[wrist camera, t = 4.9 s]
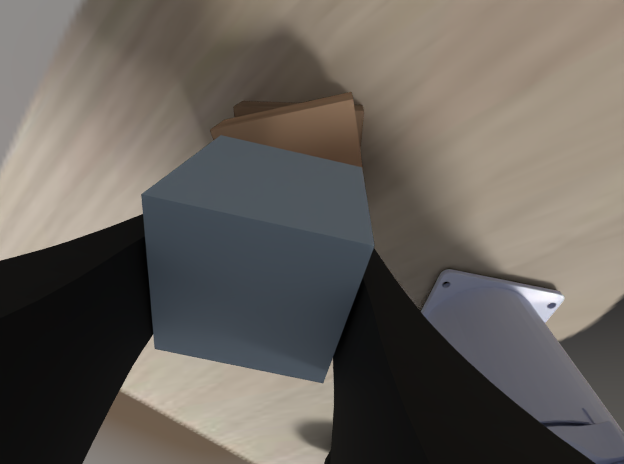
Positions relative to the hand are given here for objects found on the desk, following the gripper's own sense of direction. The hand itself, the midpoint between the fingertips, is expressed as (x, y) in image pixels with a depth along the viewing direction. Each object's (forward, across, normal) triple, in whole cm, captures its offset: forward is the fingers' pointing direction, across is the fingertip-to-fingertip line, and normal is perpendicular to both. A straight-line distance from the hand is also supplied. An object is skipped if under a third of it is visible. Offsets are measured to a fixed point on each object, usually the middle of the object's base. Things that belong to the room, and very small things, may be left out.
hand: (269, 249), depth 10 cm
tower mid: (+7, 0, 0) cm, 7 cm away
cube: (+2, 0, 0) cm, 2 cm away
